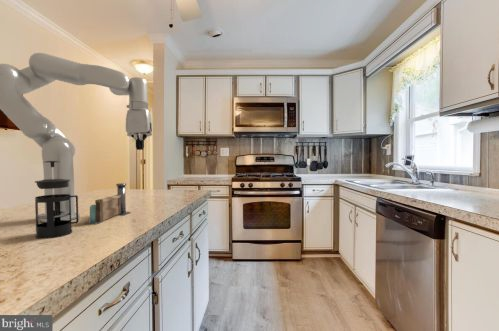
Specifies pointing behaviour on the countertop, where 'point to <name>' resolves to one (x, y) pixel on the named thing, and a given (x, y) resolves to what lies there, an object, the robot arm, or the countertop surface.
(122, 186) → the gate post
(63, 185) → the french press
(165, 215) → the countertop surface
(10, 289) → the countertop surface
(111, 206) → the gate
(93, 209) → the latch post
